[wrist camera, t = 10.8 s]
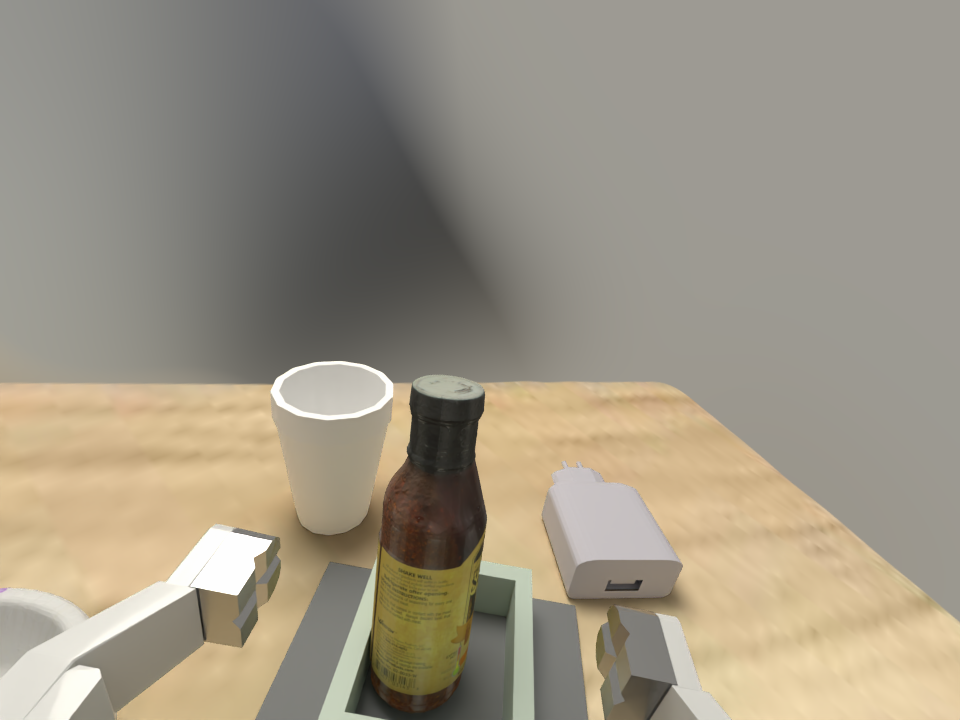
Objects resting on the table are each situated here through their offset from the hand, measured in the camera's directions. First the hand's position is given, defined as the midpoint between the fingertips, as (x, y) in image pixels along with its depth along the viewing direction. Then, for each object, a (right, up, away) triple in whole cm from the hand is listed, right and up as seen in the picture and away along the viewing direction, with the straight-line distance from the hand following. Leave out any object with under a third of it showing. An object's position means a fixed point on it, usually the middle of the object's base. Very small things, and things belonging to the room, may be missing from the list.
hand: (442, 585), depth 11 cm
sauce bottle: (-3, -15, +19) cm, 24 cm away
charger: (+12, -12, +34) cm, 38 cm away
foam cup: (-13, -9, +31) cm, 35 cm away
